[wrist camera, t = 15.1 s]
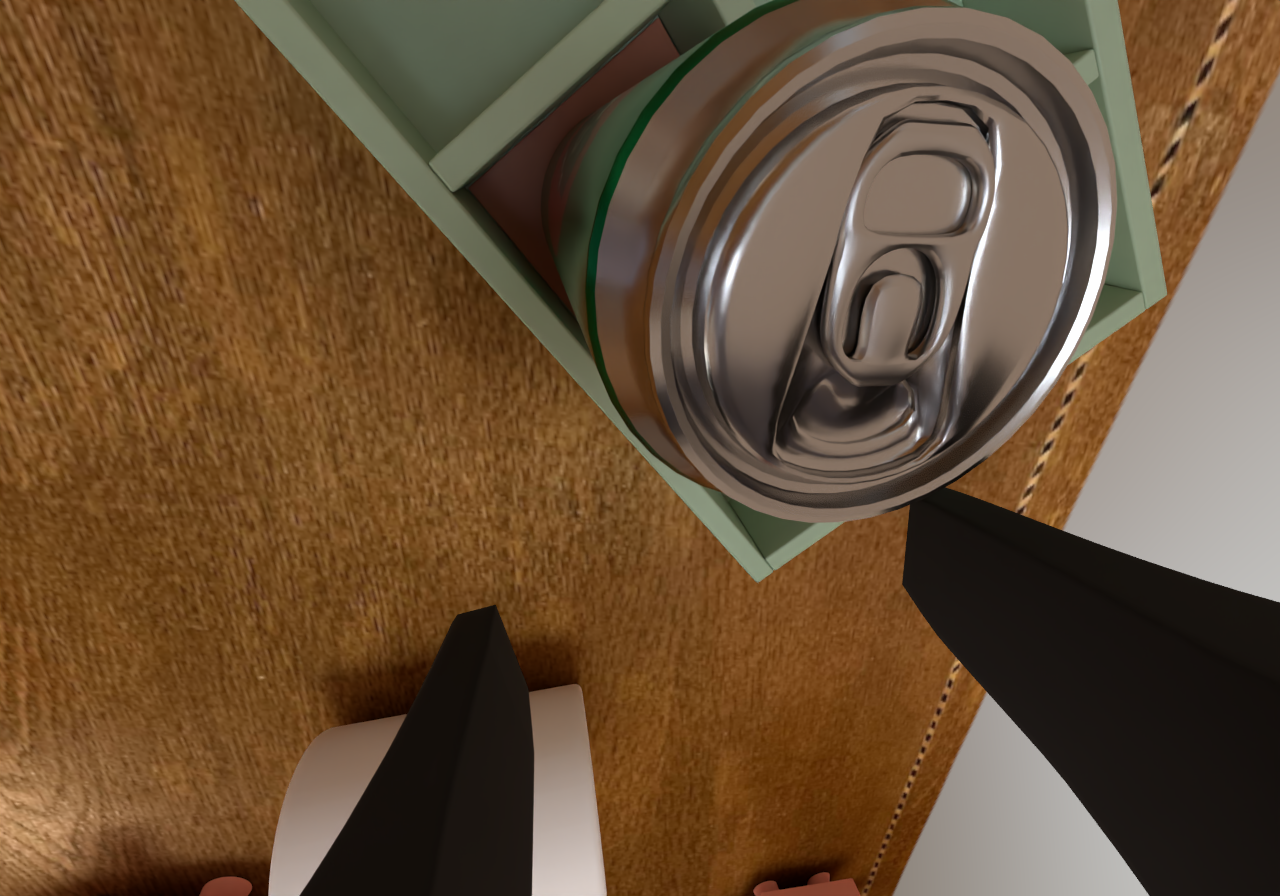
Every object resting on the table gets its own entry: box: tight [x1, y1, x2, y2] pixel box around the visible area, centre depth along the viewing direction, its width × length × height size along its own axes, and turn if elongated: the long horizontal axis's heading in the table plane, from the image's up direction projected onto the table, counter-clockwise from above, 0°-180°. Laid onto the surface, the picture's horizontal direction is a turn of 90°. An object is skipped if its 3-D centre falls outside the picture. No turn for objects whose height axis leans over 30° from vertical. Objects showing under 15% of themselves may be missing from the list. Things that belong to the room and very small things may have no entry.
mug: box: [268, 684, 607, 896], centre depth 22 cm, size 12×10×8 cm
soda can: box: [541, 0, 1117, 523], centre depth 10 cm, size 5×5×12 cm
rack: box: [234, 0, 1167, 582], centre depth 14 cm, size 15×22×4 cm
